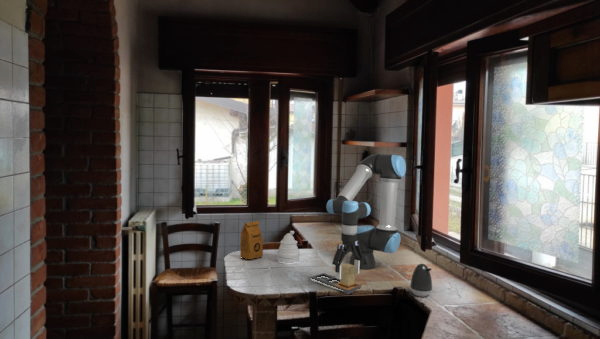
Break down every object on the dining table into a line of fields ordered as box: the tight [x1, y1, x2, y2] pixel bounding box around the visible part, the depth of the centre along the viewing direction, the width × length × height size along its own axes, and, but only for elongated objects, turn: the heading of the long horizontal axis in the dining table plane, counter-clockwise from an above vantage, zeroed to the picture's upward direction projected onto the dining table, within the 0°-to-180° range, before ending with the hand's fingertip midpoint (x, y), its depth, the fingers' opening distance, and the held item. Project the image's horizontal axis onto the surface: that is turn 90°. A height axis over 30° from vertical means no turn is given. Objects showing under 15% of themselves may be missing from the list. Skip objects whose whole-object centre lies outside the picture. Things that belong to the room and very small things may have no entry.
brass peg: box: [340, 262, 356, 288], centre depth 226 cm, size 5×5×12 cm
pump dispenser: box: [409, 263, 433, 298], centre depth 221 cm, size 10×10×15 cm
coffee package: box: [240, 220, 264, 260], centre depth 274 cm, size 10×12×22 cm
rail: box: [310, 272, 362, 295], centre depth 232 cm, size 10×25×2 cm, turn 43°
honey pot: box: [276, 230, 300, 263], centre depth 270 cm, size 13×13×18 cm
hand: (347, 275), depth 226 cm, fingers open, 13 cm apart
